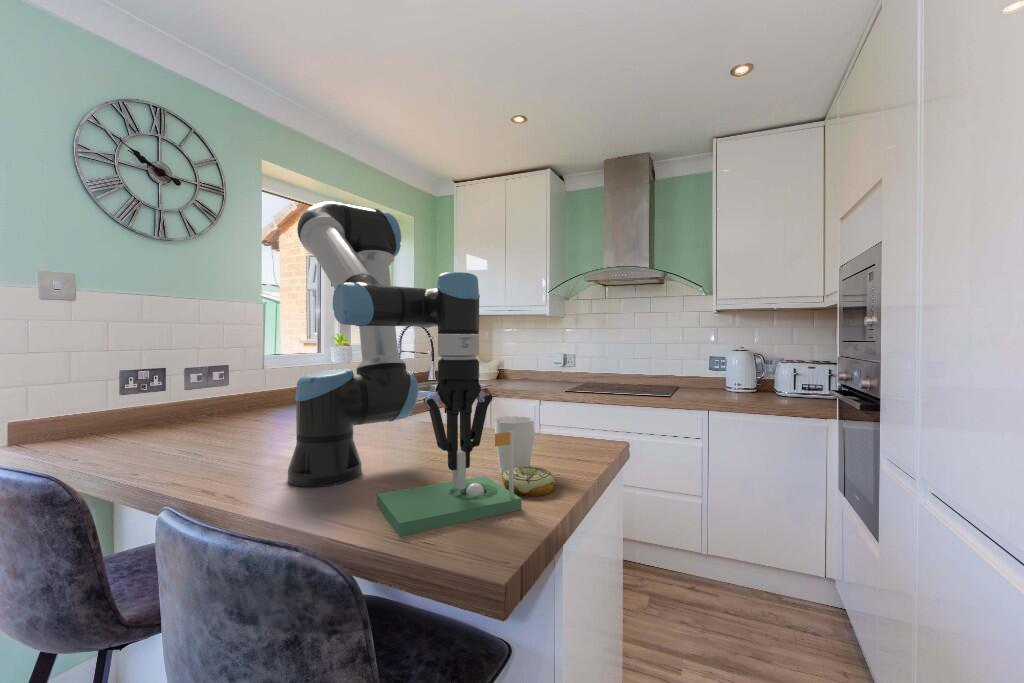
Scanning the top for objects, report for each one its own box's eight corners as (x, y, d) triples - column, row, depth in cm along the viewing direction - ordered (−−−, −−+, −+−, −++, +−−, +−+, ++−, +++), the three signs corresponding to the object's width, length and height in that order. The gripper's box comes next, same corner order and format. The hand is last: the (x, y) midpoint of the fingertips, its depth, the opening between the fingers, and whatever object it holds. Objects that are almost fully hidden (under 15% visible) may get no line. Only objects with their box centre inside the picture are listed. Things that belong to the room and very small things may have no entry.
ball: (461, 486, 86) (477, 479, 87) (466, 503, 85) (482, 496, 87) (467, 487, 83) (484, 480, 84) (473, 505, 82) (489, 498, 84)
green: (377, 504, 83) (376, 428, 83) (484, 485, 94) (484, 418, 94) (399, 536, 70) (399, 446, 70) (521, 509, 81) (521, 431, 81)
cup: (518, 481, 97) (518, 425, 97) (486, 473, 102) (486, 420, 102) (541, 471, 104) (541, 419, 104) (510, 464, 110) (510, 414, 109)
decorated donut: (525, 503, 85) (525, 483, 85) (492, 487, 93) (492, 469, 93) (565, 491, 91) (565, 472, 91) (531, 477, 100) (531, 460, 100)
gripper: (431, 359, 76) (431, 499, 76) (499, 357, 83) (500, 486, 83) (417, 358, 83) (418, 486, 83) (482, 356, 89) (482, 475, 89)
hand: (459, 486), depth 83 cm, fingers closed
